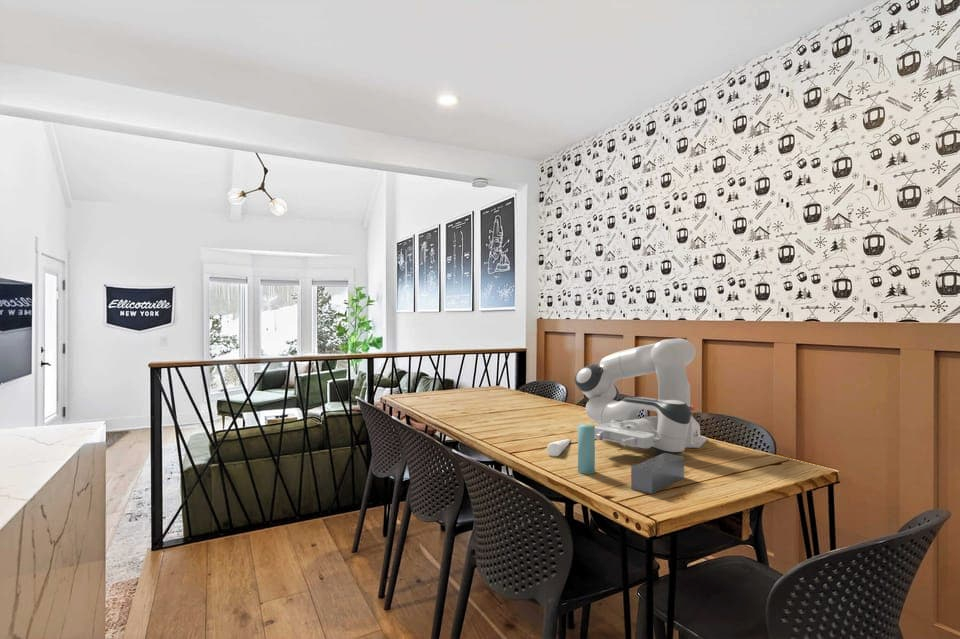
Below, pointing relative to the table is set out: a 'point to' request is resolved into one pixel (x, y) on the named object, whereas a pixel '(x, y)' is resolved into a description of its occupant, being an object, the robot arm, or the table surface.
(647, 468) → the gray block
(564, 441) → the unicorn horn
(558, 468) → the table surface
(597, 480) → the table surface
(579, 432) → the teal post
